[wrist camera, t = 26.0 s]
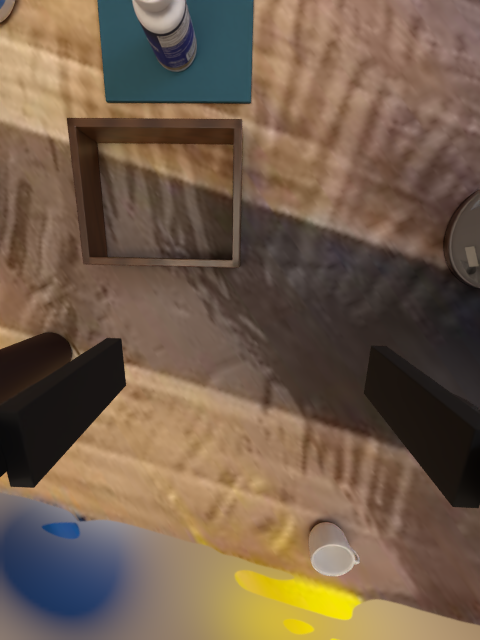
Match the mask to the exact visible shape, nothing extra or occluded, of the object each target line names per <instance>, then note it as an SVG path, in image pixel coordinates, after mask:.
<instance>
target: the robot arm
mask: <svg viewBox="0 0 480 640" xmlns="http://www.w3.org/2000/svg"><path fill="white" fill-rule="evenodd" d="M444 254H445V259H446V262H447V265H448V267H449V269H450V270H451V272H452V273H453V274H454V276H455V277H456V278H457V279H459V280H460V281H461V282H463V283H465V284H466V285H469V286H471V287H475V288H480V190H478V191H477V192H475V193H474V194H472V195H471V196H470V197H468V198H467V199H466V200H465V201H464V202H463V203H462V204H461V205H460V207H459V208H458V209H457V210H456V212H455V213H454V215H453V217H452V218H451V220H450V222H449V225H448V227H447V230H446V234H445V239H444ZM125 386H126V380H125V371H124V361H123V351H122V341H121V339H120V338H106V339H105V340H103V341H102V342H100V343H99V344H97V345H95V346H94V347H92V348H91V349H89V350H88V351H86V352H84V353H83V354H81V355H80V356H78V357H76V358H75V359H73V360H72V361H70V362H69V363H67V364H65V365H64V366H62V367H61V368H59V369H58V370H56V371H54V372H53V373H51V374H50V375H48V376H47V377H45V378H43V379H42V380H40V381H39V382H37V383H35V384H32V385H30V386H28V387H26V388H25V389H23V390H21V391H20V392H18V394H15V395H13V396H12V397H10V398H9V399H8V400H5V401H4V402H2V403H1V404H0V477H1V476H2V475H3V474H4V473H5V472H6V471H7V474H8V478H9V482H10V486H11V487H30V488H34V487H35V486H36V485H37V484H38V483H39V481H40V480H41V479H42V478H43V477H44V476H45V475H46V474H47V473H48V471H49V470H50V469H51V468H52V467H53V466H54V465H55V464H56V463H57V461H58V460H59V459H60V458H61V457H62V456H63V455H64V454H65V453H66V451H67V450H68V449H69V448H70V447H71V446H72V445H73V444H74V443H75V441H76V440H77V439H78V438H79V437H80V436H81V435H82V434H83V433H84V431H85V430H86V429H87V428H88V427H89V426H90V425H91V424H92V423H93V421H94V420H95V419H96V418H97V417H98V416H99V415H100V414H101V413H102V411H103V410H104V409H105V408H106V407H107V406H108V405H109V404H110V403H111V401H112V400H113V399H114V398H115V397H116V396H117V395H118V394H119V393H120V391H121V390H122V389H123V388H124V387H125ZM364 394H365V395H366V397H367V398H368V399H369V400H370V402H371V403H372V404H373V406H374V407H375V408H376V409H377V411H378V412H379V413H380V415H381V416H382V417H383V418H384V420H385V421H386V422H387V423H388V425H389V426H390V427H391V429H392V430H393V431H394V432H395V434H396V435H397V436H398V438H399V439H400V440H401V441H402V443H403V444H404V445H405V446H406V448H407V449H408V450H409V452H410V453H411V454H412V455H413V457H414V458H415V459H416V460H417V462H418V463H419V464H420V466H421V467H422V468H423V469H424V471H425V472H426V473H427V475H428V476H429V477H430V478H431V480H432V481H433V482H434V483H435V485H436V486H437V487H438V489H439V490H440V491H441V492H442V494H443V495H444V496H445V498H446V499H447V500H448V501H449V503H450V504H451V505H452V506H453V507H466V508H479V505H480V410H478V408H477V407H476V406H474V405H473V404H471V403H470V402H469V401H467V400H465V399H463V398H461V397H459V396H457V395H455V394H453V393H450V392H449V391H448V390H446V389H445V388H444V387H442V386H441V385H439V384H438V383H437V382H435V381H434V380H432V379H431V378H430V377H428V376H427V375H426V374H424V373H423V372H421V371H420V370H419V369H417V368H416V367H414V366H413V365H412V364H410V363H409V362H407V361H406V360H405V359H403V358H402V357H401V356H399V355H398V354H396V353H395V352H394V351H392V350H391V349H389V348H388V347H387V346H371V351H370V358H369V364H368V371H367V377H366V384H365V390H364Z"/></svg>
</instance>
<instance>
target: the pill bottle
mask: <svg viewBox="0 0 480 640" xmlns="http://www.w3.org/2000/svg"><path fill="white" fill-rule="evenodd" d="M132 2H133V7H134V10H135V13H136V16H137V18H138V20H139V22H140V24H141V26H142V28H143V30H144V33H145V35H146V37H147V39H148V41H149V43H150V45H151V47H152V49H153V52H154V54H155V56H156V58H157V60H158V61H159V63H160V64H161V65H162V66H163V67H164V68H166V69H167V70H170V71H174V72H179V71H183V70H185V69H186V68H188V67H189V66H190V65H191V63H192V62H193V60H194V58H195V55H196V49H197V43H196V37H195V33H194V29H193V25H192V21H191V18H190V14H189V10H188V6H187V2H186V0H132Z"/></svg>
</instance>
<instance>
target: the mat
mask: <svg viewBox="0 0 480 640" xmlns="http://www.w3.org/2000/svg"><path fill="white" fill-rule="evenodd" d="M186 2H187V6H188V10H189V14H190V18H191V21H192V25H193V29H194V33H195V37H196V43H197V49H196V55H195V58H194V60H193V62H192V63H191V65H190V66H189V67H188V68H186V69H185V70H183V71H179V72H174V71H170V70H167V69H166V68H164V67H163V66H162V65H161V64H160V63H159V61H158V60H157V58H156V56H155V54H154V52H153V49H152V47H151V45H150V43H149V41H148V39H147V37H146V35H145V33H144V30H143V28H142V26H141V24H140V22H139V20H138V18H137V16H136V13H135V10H134V7H133V2H132V0H98V12H99V25H100V37H101V49H102V61H103V73H104V85H105V97H106V101H107V102H108V103H251V76H252V37H253V0H186Z"/></svg>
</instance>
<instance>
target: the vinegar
mask: <svg viewBox="0 0 480 640" xmlns="http://www.w3.org/2000/svg"><path fill="white" fill-rule="evenodd" d="M71 356H72V352H71V348H70V345H69V343H68V342H67V341H66V340H65V339H64V338H63V337H62V336H60V335H58V334H55V333H43V334H40V335H37V336H34V337H32V338H29V339H26V340H24V341H21V342H19V343H16V344H13V345H11V346H8V347H5V348H3V349H0V404H1V403H2V402H4V401H5V400H8V399H9V398H10V397H12V396H13V395H15V394H18V392H20V391H21V390H23V389H25V388H26V387H28V386H30V385H32V384H35V383H37V382H39V381H40V380H42V379H43V378H45V377H47V376H48V375H50V374H51V373H53V372H54V371H56V370H58V369H59V368H61V367H62V366H64V365H65V364H67V363H69V362H70V360H71Z"/></svg>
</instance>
